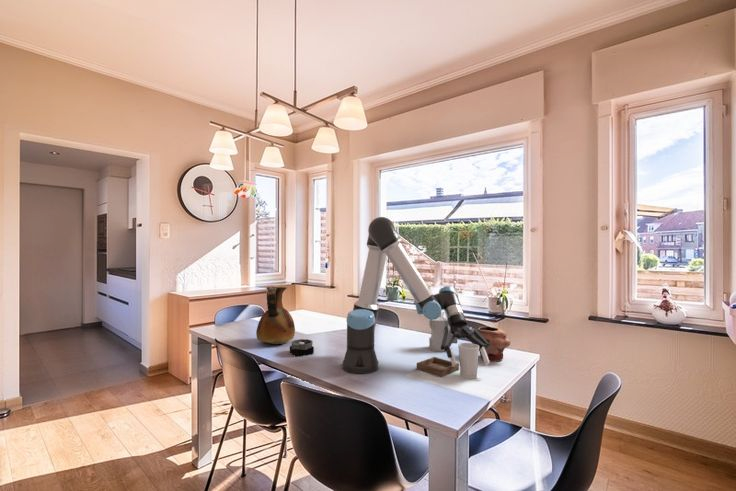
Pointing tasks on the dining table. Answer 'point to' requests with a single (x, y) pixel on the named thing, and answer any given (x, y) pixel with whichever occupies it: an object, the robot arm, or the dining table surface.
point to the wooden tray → (437, 366)
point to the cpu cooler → (302, 347)
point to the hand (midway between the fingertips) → (471, 364)
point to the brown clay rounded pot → (494, 342)
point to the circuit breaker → (439, 333)
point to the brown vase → (275, 319)
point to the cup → (468, 360)
